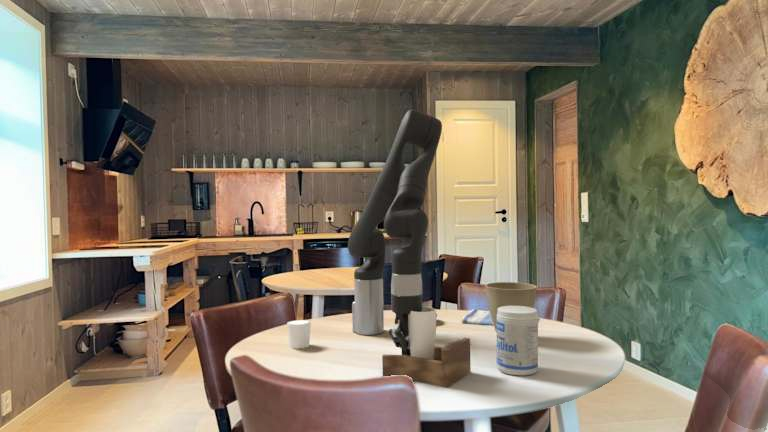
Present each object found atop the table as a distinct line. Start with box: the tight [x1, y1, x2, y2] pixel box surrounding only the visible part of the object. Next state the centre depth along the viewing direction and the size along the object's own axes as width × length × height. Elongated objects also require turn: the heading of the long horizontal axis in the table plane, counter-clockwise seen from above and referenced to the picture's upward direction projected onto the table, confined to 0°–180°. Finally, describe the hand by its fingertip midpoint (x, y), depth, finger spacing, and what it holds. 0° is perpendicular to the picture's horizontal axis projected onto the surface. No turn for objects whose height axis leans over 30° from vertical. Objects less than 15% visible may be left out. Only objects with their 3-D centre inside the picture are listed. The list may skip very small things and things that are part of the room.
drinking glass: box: [408, 306, 437, 360], centre depth 117 cm, size 7×7×15 cm
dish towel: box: [461, 308, 494, 327], centre depth 172 cm, size 17×24×3 cm
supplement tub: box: [496, 306, 539, 377], centre depth 117 cm, size 10×10×15 cm
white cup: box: [286, 319, 312, 350], centre depth 143 cm, size 7×7×7 cm
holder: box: [381, 337, 471, 388], centre depth 116 cm, size 16×16×8 cm
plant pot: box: [484, 281, 538, 334], centre depth 147 cm, size 15×15×16 cm
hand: (407, 363), depth 119 cm, fingers closed
